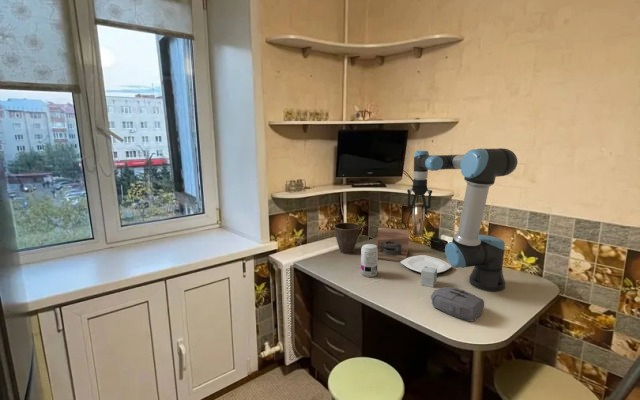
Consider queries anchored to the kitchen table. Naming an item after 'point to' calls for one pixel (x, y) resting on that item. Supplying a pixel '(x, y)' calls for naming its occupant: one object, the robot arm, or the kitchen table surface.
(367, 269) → the supplement can
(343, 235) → the plant pot
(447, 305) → the soft grey pack
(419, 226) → the clear glass cylinder
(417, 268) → the plate
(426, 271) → the skincare box
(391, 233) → the transparent box
